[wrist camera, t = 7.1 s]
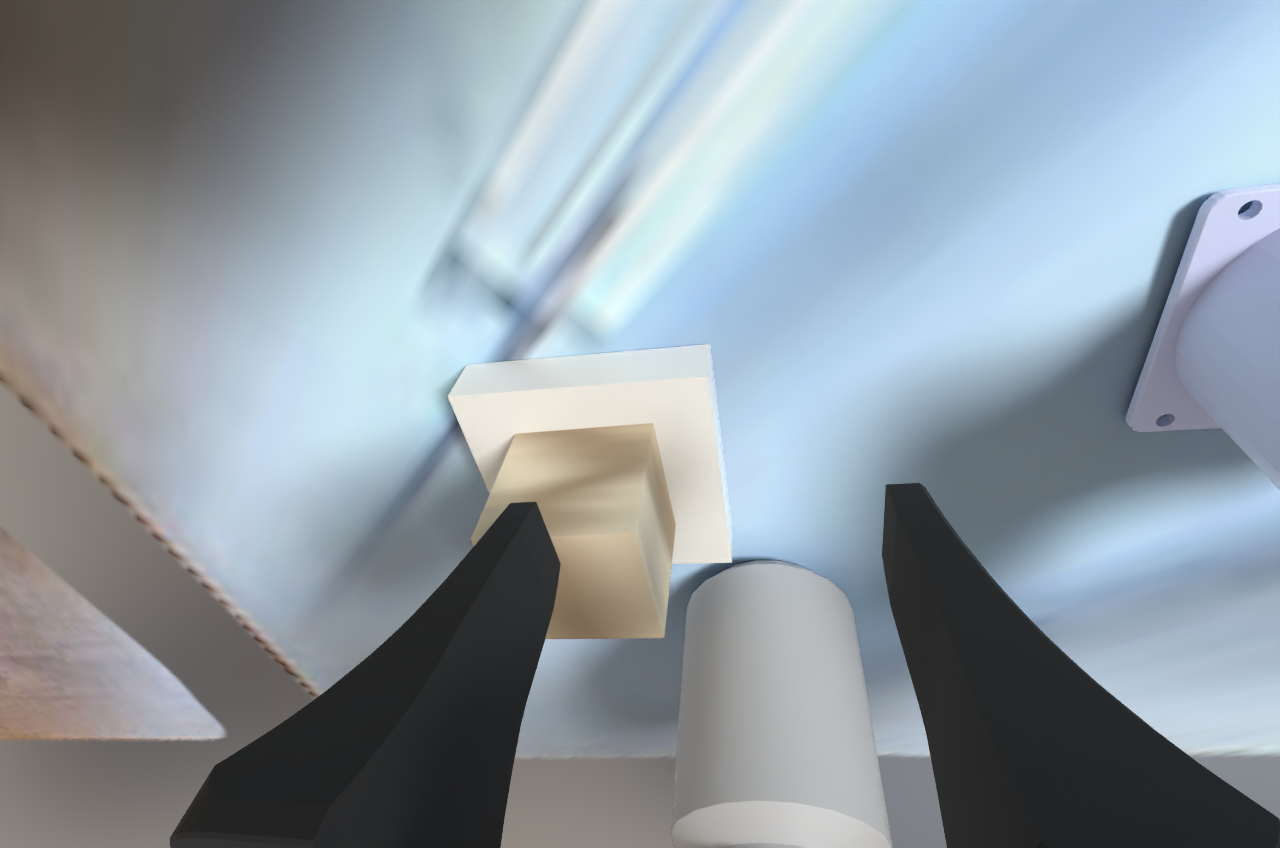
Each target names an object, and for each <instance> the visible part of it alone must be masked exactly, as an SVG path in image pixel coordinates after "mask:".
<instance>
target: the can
mask: <svg viewBox="0 0 1280 848" xmlns="http://www.w3.org/2000/svg"><path fill="white" fill-rule="evenodd" d="M671 837H672V841H673V844H674V847H675V848H892V843H891V836H890V830H889V824H888V818H887V812H886V806H885V800H884V794H883V788H882V782H881V776H880V770H879V764H878V758H877V752H876V746H875V740H874V734H873V727H872V721H871V715H870V709H869V703H868V697H867V691H866V685H865V679H864V673H863V667H862V661H861V655H860V649H859V643H858V637H857V631H856V625H855V619H854V613H853V609H852V607H851V605H850V603H849V600H848V598H847V596H846V594H845V593H844V592H842V591H841V590H840V589H839V588H838V587H837V586H836V585H835V584H834V583H832V582H831V581H830V580H828V579H826V578H824V577H822V576H819V575H817V574H816V573H814V572H812V571H810V570H808V569H806V568H803V567H801V566H799V565H796V564H792V563H787V562H782V561H777V560H755V561H751V562H746V563H741V564H736V565H734V566H732V567H730V568H728V569H726V570H724V571H722V572H720V573H719V574H717V575H715V576H713V577H711V578H709V579H707V580H705V581H704V582H703V583H702V584H701V585H700V586H699V587H698V588H697V589H696V590H695V591H694V592H693V593H692V596H691V598H690V601H689V604H688V606H687V613H686V626H685V640H684V654H683V668H682V681H681V695H680V709H679V723H678V736H677V750H676V765H675V778H674V791H673V806H672V819H671Z"/></svg>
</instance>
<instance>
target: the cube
mask: <svg viewBox="0 0 1280 848" xmlns="http://www.w3.org/2000/svg"><path fill="white" fill-rule="evenodd" d="M519 502H537V505H538V507H539V510H540V512H541V515H542V518H543V520H544V523H545V525H546V528H547V530H548V533H549V535H550V538H551V540H552V543H553V545H554V548H555V550H556V553H557V555H558V558H559V561H560V563H561V566H560V573H559V580H558V587H557V593H556V599H555V604H554V609H553V613H552V617H551V620H550V624H549V627H548V631H547V634H546V638H545V639H617V638H664V637H665V627H666V617H667V607H668V597H669V587H670V577H671V567H672V557H673V547H674V537H675V528H676V523H675V519H674V514H673V510H672V505H671V501H670V496H669V492H668V487H667V483H666V478H665V474H664V470H663V465H662V461H661V456H660V452H659V447H658V443H657V438H656V434H655V429H654V425H653V423H647V424H634V425H621V426H608V427H595V428H582V429H570V430H557V431H544V432H531V433H518V434H515V436H514V438H513V441H512V443H511V445H510V448H509V450H508V452H507V455H506V457H505V459H504V462H503V464H502V467H501V469H500V471H499V474H498V476H497V478H496V481H495V483H494V485H493V488H492V490H491V492H490V495H489V497H488V499H487V502H486V504H485V506H484V509H483V511H482V513H481V516H480V518H479V520H478V523H477V525H476V527H475V530H474V532H473V535H472V537H471V539H470V541H471V543H472V545H473V547H474V546H475V545H476V543H477V542H478V541H479V540H480V539H481V537H482V536H483V535H484V534H485V533H486V531H487V530H488V529H489V528H490V526H491V525H492V524H493V523H494V522H495V520H496V519H497V518H498V517H499V516H500V514H501V513H502V512H503V511H504V510H505V509H506V507H507V506H508V505H509V504H510V503H519Z"/></svg>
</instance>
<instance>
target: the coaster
mask: <svg viewBox="0 0 1280 848" xmlns="http://www.w3.org/2000/svg"><path fill="white" fill-rule="evenodd" d="M448 398H449V401H450V403H451V405H452V408H453V410H454V412H455V415H456V417H457V419H458V422H459V424H460V426H461V429H462V431H463V433H464V436H465V438H466V441H467V443H468V445H469V448H470V450H471V452H472V455H473V457H474V459H475V462H476V464H477V466H478V469H479V471H480V473H481V476H482V478H483V480H484V483H485V485H486V487H487V490H488V492H489V494H490V492H491V490H492V488H493V485H494V483H495V481H496V478H497V476H498V474H499V471H500V469H501V467H502V464H503V462H504V459H505V457H506V455H507V452H508V450H509V448H510V445H511V443H512V441H513V438H514V436H515V434H518V433H531V432H544V431H557V430H570V429H582V428H595V427H608V426H621V425H634V424H647V423H653V425H654V429H655V434H656V438H657V443H658V447H659V452H660V456H661V461H662V465H663V470H664V474H665V478H666V483H667V487H668V492H669V496H670V501H671V505H672V510H673V514H674V519H675V523H676V528H675V537H674V547H673V557H672V564H686V563H732V519H731V511H730V502H729V494H728V486H727V478H726V469H725V461H724V453H723V444H722V436H721V428H720V420H719V411H718V403H717V395H716V386H715V378H714V370H713V362H712V353H711V345H710V344H703V345H691V346H680V347H668V348H656V349H645V350H633V351H621V352H610V353H598V354H586V355H575V356H563V357H551V358H540V359H528V360H516V361H505V362H493V363H481V364H469V365H466V367H465V368H464V370H463V372H462V373H461V375H460V377H459V378H458V380H457V382H456V383H455V385H454V387H453V388H452V390H451V392H450V393H449V395H448Z"/></svg>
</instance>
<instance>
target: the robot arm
mask: <svg viewBox="0 0 1280 848" xmlns="http://www.w3.org/2000/svg"><path fill="white" fill-rule="evenodd" d="M1250 201H1253V204H1252V205H1251V207H1250V208H1249V209H1248V210H1247V211H1245V212H1244V213H1241V214H1238V211H1239V210H1240V208H1241V207H1242V206H1243V205H1244V204H1246V203H1247V202H1250ZM1165 414H1167V415H1166V416H1165V417H1163V418H1161V419H1158V418H1159V417H1160V416H1162V415H1165ZM1126 422H1127V423H1128V425H1129V426H1130V427H1131V429H1132V430H1134V431H1136V432H1157V431H1176V430H1195V429H1214V428H1222V429H1223V430H1224V431H1225V432H1226V433H1227V434H1228V435H1229V436H1230V438H1231V439H1232V440H1233V441H1234V442H1235V443H1236V444H1237V445H1238V446H1239V447H1240V448H1241V449H1242V450H1243V451H1244V452H1245V453H1246V455H1247V456H1248V457H1249V458H1250V459H1251V460H1252V461H1253V462H1254V463H1255V464H1256V465H1257V466H1258V467H1259V468H1260V469H1261V471H1262V472H1263V473H1264V474H1265V475H1266V476H1267V477H1268V478H1269V479H1270V480H1271V481H1272V482H1273V483H1274V484H1275V485H1276V486H1277V488H1278V489H1279V490H1280V183H1278V184H1269V185H1260V186H1251V187H1243V188H1234V189H1226V190H1223V191H1219V192H1217V193H1215V194H1213V195H1212V196H1210V197H1209V198H1208V199H1207V200H1206V201H1205V202H1204V203H1203V204H1202V206H1201V207H1200V209H1199V211H1198V214H1197V217H1196V220H1195V223H1194V225H1193V228H1192V231H1191V234H1190V237H1189V240H1188V242H1187V245H1186V248H1185V251H1184V254H1183V256H1182V259H1181V262H1180V265H1179V268H1178V271H1177V273H1176V276H1175V279H1174V282H1173V285H1172V288H1171V290H1170V293H1169V296H1168V299H1167V302H1166V304H1165V307H1164V310H1163V313H1162V316H1161V319H1160V321H1159V324H1158V327H1157V330H1156V333H1155V335H1154V338H1153V341H1152V344H1151V347H1150V350H1149V352H1148V355H1147V358H1146V361H1145V364H1144V367H1143V369H1142V372H1141V375H1140V378H1139V381H1138V383H1137V386H1136V389H1135V392H1134V395H1133V398H1132V400H1131V403H1130V406H1129V409H1128V412H1127V414H1126ZM882 557H883V564H884V570H885V576H886V582H887V588H888V594H889V600H890V605H891V609H892V612H893V616H894V619H895V623H896V626H897V630H898V633H899V637H900V640H901V644H902V647H903V651H904V654H905V658H906V661H907V665H908V668H909V672H910V675H911V679H912V682H913V686H914V689H915V693H916V696H917V700H918V703H919V707H920V710H921V714H922V718H923V722H924V726H925V730H926V734H927V739H928V745H929V750H930V755H931V761H932V766H933V771H934V777H935V782H936V788H937V793H938V798H939V805H940V810H941V815H942V822H943V827H944V833H945V838H946V844H947V848H1280V820H1279V818H1278V817H1276V816H1275V815H1273V814H1272V813H1270V812H1269V811H1267V810H1266V809H1264V808H1263V807H1261V806H1260V805H1259V804H1257V803H1256V802H1254V801H1253V800H1251V799H1250V798H1248V797H1247V796H1245V795H1244V794H1242V793H1241V792H1240V791H1238V790H1237V789H1235V788H1233V787H1232V786H1231V785H1229V784H1228V783H1226V782H1225V781H1223V780H1222V779H1221V778H1219V777H1218V776H1216V775H1215V774H1213V773H1212V772H1210V771H1209V770H1208V769H1206V768H1205V767H1204V766H1202V765H1201V764H1199V763H1198V762H1196V761H1195V760H1194V759H1193V758H1191V757H1190V756H1189V755H1187V754H1186V753H1185V752H1183V751H1182V750H1181V749H1179V748H1178V747H1177V746H1175V745H1174V744H1173V743H1171V742H1170V741H1169V740H1167V739H1166V738H1165V737H1163V736H1162V735H1161V734H1159V733H1158V732H1157V731H1155V730H1154V729H1153V728H1152V727H1151V726H1149V725H1148V724H1147V723H1146V722H1144V721H1143V720H1142V719H1141V718H1140V717H1138V716H1137V715H1136V714H1135V713H1133V712H1132V711H1131V710H1130V709H1129V708H1127V707H1126V706H1125V705H1124V704H1122V703H1121V702H1120V701H1119V700H1118V699H1116V698H1115V697H1114V696H1113V695H1111V694H1110V693H1109V692H1108V691H1107V690H1105V689H1104V688H1103V687H1102V686H1101V685H1099V684H1098V683H1097V682H1096V681H1095V680H1094V679H1092V678H1091V677H1090V676H1089V675H1088V674H1087V673H1086V672H1085V671H1084V670H1082V669H1081V668H1080V667H1079V666H1078V665H1077V664H1076V663H1075V662H1074V661H1073V660H1071V659H1070V658H1069V657H1068V656H1067V655H1066V654H1065V653H1064V652H1063V651H1062V650H1061V649H1060V648H1059V647H1058V646H1057V645H1056V644H1054V643H1053V642H1052V641H1051V640H1050V639H1049V638H1048V637H1047V636H1046V635H1045V634H1044V633H1043V632H1042V631H1041V630H1040V629H1039V628H1038V627H1037V626H1036V625H1035V624H1034V623H1033V622H1032V621H1031V620H1030V619H1029V618H1028V617H1027V616H1026V614H1025V613H1024V612H1023V611H1022V610H1021V609H1020V608H1019V607H1018V606H1017V605H1016V604H1015V603H1014V602H1013V600H1012V599H1011V598H1010V597H1009V596H1008V595H1007V594H1006V593H1005V592H1004V591H1003V589H1002V588H1001V587H1000V586H999V585H998V584H997V583H996V581H995V580H994V579H993V578H992V577H991V576H990V574H989V573H988V572H987V571H986V570H985V568H984V567H983V566H982V565H981V563H980V562H979V561H978V560H977V559H976V557H975V556H974V555H973V554H972V553H971V551H970V550H969V549H968V548H967V546H966V545H965V544H964V542H963V541H962V540H961V539H960V537H959V536H958V534H957V533H956V532H955V530H954V529H953V528H952V526H951V525H950V524H949V522H948V521H947V519H946V518H945V517H944V515H943V514H942V512H941V511H940V509H939V508H938V507H937V505H936V504H935V502H934V501H933V499H932V497H931V496H930V494H929V493H928V491H927V489H926V488H925V487H924V486H923V485H922V484H920V483H911V484H890V485H886V494H885V512H884V531H883V549H882ZM560 566H561V563H560V561H559V558H558V555H557V553H556V550H555V548H554V545H553V543H552V540H551V538H550V535H549V533H548V530H547V528H546V525H545V523H544V520H543V518H542V515H541V512H540V510H539V507H538V505H537V502H519V503H510V504H509V505H508V506H507V507H506V509H505V510H504V511H503V512H502V513H501V514H500V516H499V517H498V518H497V519H496V520H495V522H494V523H493V524H492V525H491V526H490V528H489V529H488V530H487V531H486V533H485V534H484V535H483V536H482V537H481V539H480V540H479V541H478V542H477V543H476V545H475V546H474V547H473V548H472V549H471V551H470V552H469V553H468V554H467V555H466V557H465V558H464V559H463V560H462V561H461V562H460V564H459V565H458V566H457V567H456V568H455V569H454V571H453V572H452V573H451V574H450V575H449V576H448V578H447V579H446V580H445V581H444V582H443V583H442V584H441V585H440V586H439V588H438V589H437V590H436V591H435V592H434V593H433V594H432V595H431V596H430V597H429V598H428V599H427V600H426V602H425V603H424V604H423V605H422V606H421V607H420V608H419V609H418V610H417V611H416V612H415V613H414V614H413V615H412V616H411V617H410V618H409V619H408V620H407V621H406V622H405V623H404V624H403V625H402V626H401V627H400V628H399V629H398V630H397V631H396V632H395V633H394V634H393V635H392V636H391V637H389V638H388V639H387V640H386V641H385V642H384V643H383V644H382V645H381V646H380V647H379V648H378V649H376V650H375V651H374V652H373V653H372V654H371V655H370V656H368V657H367V658H366V659H365V660H364V661H362V662H361V663H360V664H359V665H357V666H356V667H355V668H354V669H353V670H351V671H350V672H349V673H348V674H347V675H345V676H344V677H343V678H342V679H340V680H339V681H338V682H337V683H336V684H334V685H333V686H332V687H331V688H329V689H328V690H327V691H325V692H324V693H323V694H321V695H320V696H319V697H317V698H316V699H315V700H313V701H312V702H311V703H309V704H308V705H307V706H305V707H304V708H302V709H301V710H300V711H298V712H297V713H295V714H294V715H293V716H291V717H290V718H288V719H287V720H285V721H284V722H283V723H281V724H280V725H278V726H277V727H275V728H274V729H272V730H271V731H269V732H268V733H266V734H265V735H263V736H261V737H260V738H258V739H257V740H255V741H254V742H252V743H250V744H249V745H247V746H246V747H244V748H242V749H241V750H239V751H238V752H236V753H235V754H233V755H231V756H230V757H228V758H227V759H225V760H223V761H222V762H220V763H218V764H217V765H215V767H214V768H213V770H212V771H211V773H210V774H209V776H208V777H207V779H206V781H205V782H204V784H203V786H202V787H201V789H200V790H199V792H198V794H197V795H196V797H195V798H194V800H193V802H192V803H191V805H190V806H189V808H188V810H187V811H186V813H185V815H184V816H183V818H182V819H181V821H180V823H179V824H178V826H177V828H176V829H175V831H174V832H173V834H172V836H171V837H170V847H171V848H500V846H501V839H502V832H503V824H504V817H505V810H506V805H507V798H508V792H509V786H510V780H511V775H512V768H513V763H514V758H515V753H516V747H517V742H518V737H519V731H520V726H521V722H522V718H523V714H524V710H525V706H526V702H527V699H528V695H529V692H530V688H531V685H532V682H533V678H534V675H535V671H536V668H537V665H538V661H539V658H540V655H541V651H542V648H543V644H544V641H545V638H546V634H547V631H548V627H549V624H550V620H551V617H552V613H553V609H554V604H555V599H556V593H557V587H558V580H559V573H560Z"/></svg>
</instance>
